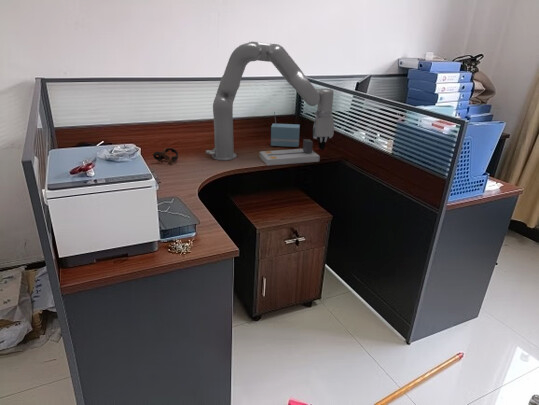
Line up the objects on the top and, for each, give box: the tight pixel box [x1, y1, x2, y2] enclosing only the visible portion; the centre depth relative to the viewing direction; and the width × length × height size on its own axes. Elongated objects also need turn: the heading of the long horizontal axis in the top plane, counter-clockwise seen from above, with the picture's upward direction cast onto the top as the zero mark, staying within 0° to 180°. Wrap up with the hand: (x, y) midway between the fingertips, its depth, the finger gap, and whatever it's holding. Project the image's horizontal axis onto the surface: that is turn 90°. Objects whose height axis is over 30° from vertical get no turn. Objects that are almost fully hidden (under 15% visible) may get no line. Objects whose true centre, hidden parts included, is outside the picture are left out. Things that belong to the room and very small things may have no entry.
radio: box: [270, 111, 301, 149], centre depth 222 cm, size 16×9×20 cm, turn 84°
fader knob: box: [302, 138, 314, 153], centre depth 202 cm, size 3×5×6 cm, turn 16°
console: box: [259, 148, 320, 166], centre depth 202 cm, size 28×14×3 cm, turn 106°
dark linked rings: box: [152, 147, 179, 166], centre depth 193 cm, size 12×10×8 cm
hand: (321, 148), depth 205 cm, fingers closed
